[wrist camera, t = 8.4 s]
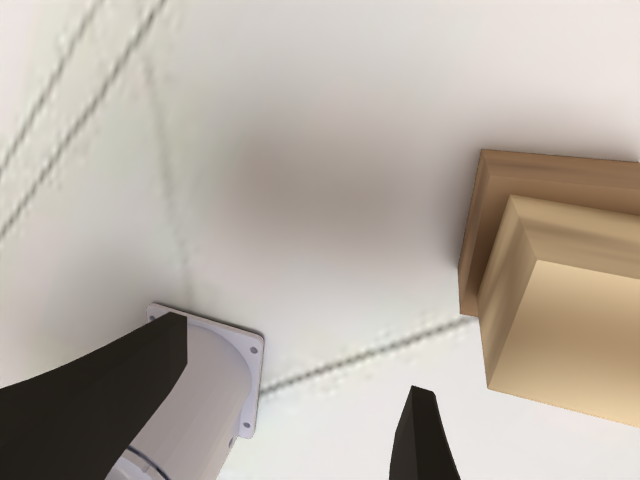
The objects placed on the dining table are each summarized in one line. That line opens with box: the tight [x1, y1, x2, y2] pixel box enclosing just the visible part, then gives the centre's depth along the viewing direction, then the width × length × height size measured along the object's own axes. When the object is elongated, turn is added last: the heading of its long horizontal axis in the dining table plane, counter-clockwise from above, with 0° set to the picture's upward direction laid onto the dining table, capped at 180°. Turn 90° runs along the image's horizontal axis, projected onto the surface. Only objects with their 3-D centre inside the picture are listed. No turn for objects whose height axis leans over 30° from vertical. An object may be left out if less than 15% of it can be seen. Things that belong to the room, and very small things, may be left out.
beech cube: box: [476, 194, 640, 428], centre depth 13 cm, size 4×4×5 cm
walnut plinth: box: [458, 149, 640, 317], centre depth 17 cm, size 6×6×4 cm
